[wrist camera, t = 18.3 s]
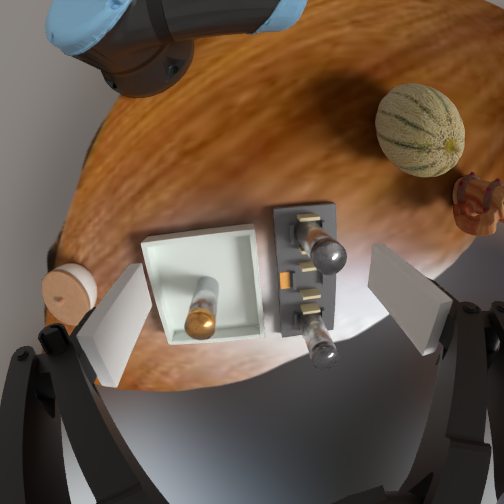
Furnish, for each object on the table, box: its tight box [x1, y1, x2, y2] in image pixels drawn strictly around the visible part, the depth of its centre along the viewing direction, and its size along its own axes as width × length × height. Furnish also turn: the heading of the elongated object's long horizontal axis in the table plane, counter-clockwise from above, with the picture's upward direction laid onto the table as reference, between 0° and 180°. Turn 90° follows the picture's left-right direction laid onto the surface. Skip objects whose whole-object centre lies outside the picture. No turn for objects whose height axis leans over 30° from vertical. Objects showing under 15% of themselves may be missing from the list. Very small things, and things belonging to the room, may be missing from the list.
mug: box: [453, 172, 504, 236], centre depth 36 cm, size 15×8×15 cm, turn 121°
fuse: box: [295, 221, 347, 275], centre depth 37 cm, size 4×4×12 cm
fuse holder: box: [272, 202, 337, 338], centre depth 45 cm, size 10×24×4 cm, turn 6°
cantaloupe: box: [375, 83, 465, 177], centre depth 32 cm, size 15×15×15 cm
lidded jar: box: [42, 263, 97, 326], centre depth 41 cm, size 11×11×9 cm
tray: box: [141, 223, 265, 345], centre depth 45 cm, size 18×20×4 cm
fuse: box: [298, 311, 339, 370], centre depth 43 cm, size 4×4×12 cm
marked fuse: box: [184, 276, 219, 340], centre depth 40 cm, size 4×4×12 cm
